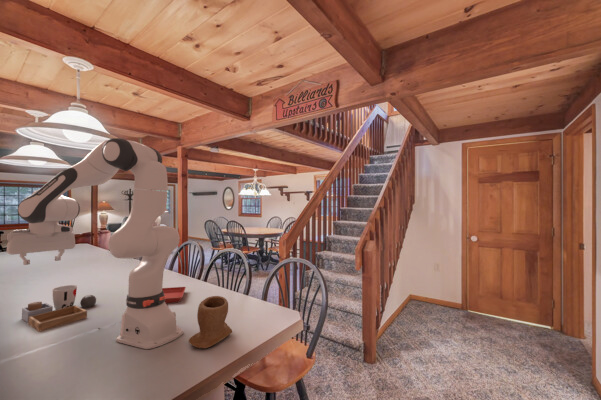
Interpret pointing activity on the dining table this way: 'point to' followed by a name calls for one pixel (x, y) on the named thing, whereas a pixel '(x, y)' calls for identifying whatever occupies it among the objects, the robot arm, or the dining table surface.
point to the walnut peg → (34, 306)
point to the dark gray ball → (88, 301)
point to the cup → (64, 296)
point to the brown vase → (211, 322)
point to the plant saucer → (173, 294)
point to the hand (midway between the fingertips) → (42, 262)
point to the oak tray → (57, 317)
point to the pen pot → (35, 311)
